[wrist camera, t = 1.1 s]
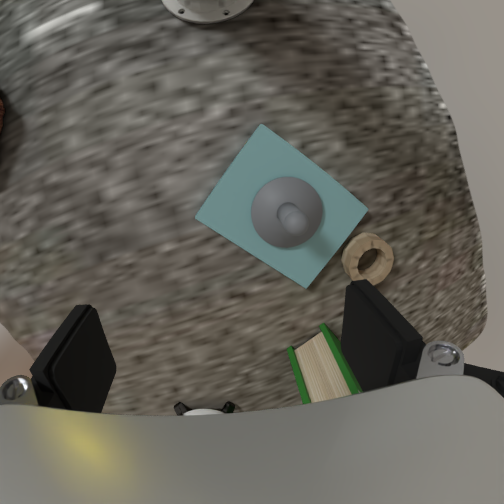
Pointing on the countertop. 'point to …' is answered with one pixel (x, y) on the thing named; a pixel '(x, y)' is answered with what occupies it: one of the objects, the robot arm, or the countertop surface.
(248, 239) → the teal plate with knob
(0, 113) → the pastry
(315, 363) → the hardback book
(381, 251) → the ring
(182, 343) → the countertop surface
